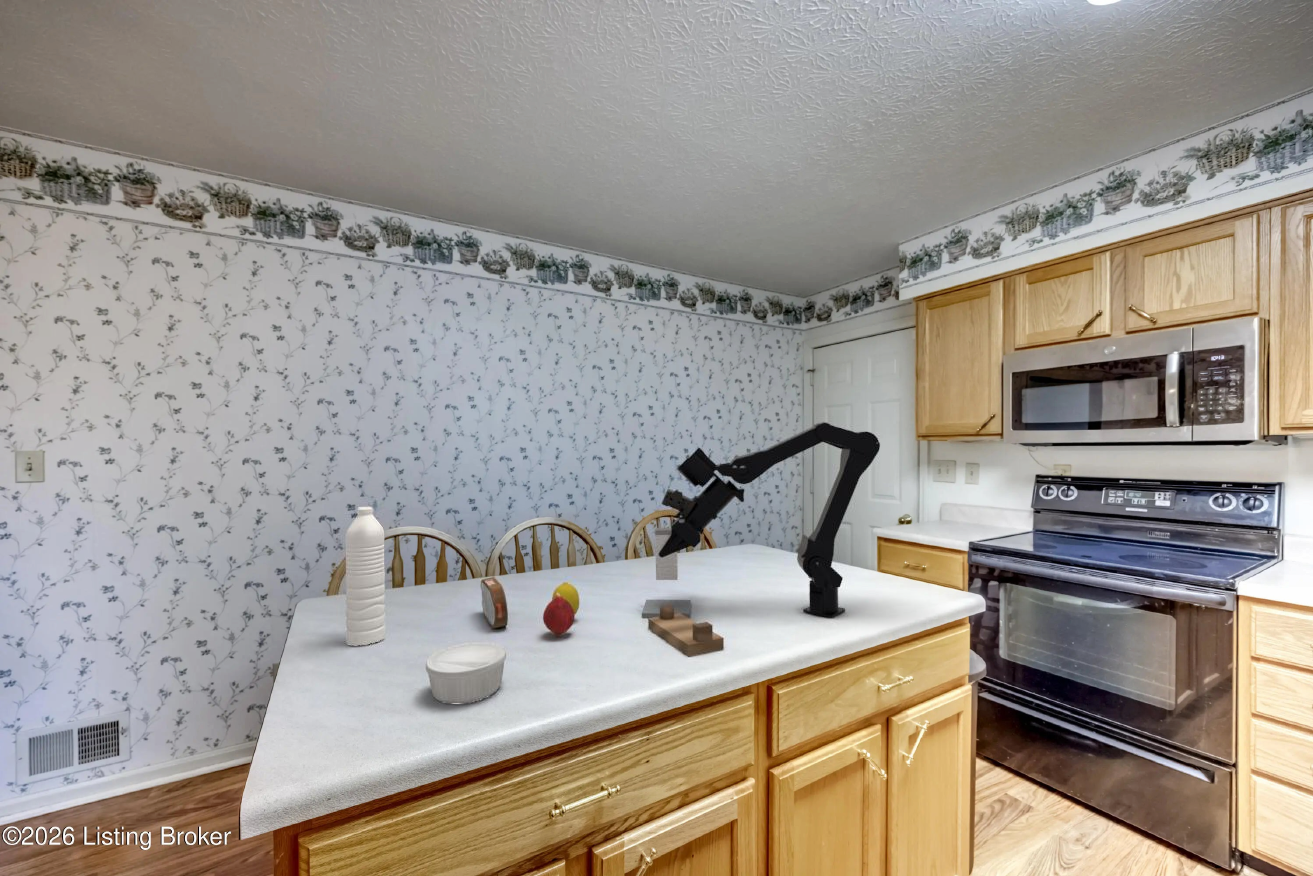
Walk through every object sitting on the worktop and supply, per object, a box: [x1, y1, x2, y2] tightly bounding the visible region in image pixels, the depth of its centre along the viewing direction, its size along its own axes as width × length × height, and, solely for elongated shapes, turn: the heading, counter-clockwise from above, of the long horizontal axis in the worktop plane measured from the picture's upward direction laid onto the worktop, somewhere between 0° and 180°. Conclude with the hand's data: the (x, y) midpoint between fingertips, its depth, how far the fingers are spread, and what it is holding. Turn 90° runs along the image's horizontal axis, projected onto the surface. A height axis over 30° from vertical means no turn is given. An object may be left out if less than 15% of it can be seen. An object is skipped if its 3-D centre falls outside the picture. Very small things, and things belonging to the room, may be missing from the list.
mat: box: [641, 599, 692, 619], centre depth 119 cm, size 10×10×1 cm
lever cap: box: [654, 527, 679, 581], centre depth 119 cm, size 4×3×10 cm
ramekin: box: [425, 641, 507, 704], centre depth 82 cm, size 11×11×5 cm
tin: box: [480, 576, 509, 629], centre depth 114 cm, size 15×3×8 cm, turn 27°
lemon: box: [551, 581, 580, 615], centre depth 113 cm, size 6×6×8 cm
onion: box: [542, 593, 576, 637], centre depth 105 cm, size 6×6×8 cm
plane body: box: [647, 605, 725, 657], centre depth 102 cm, size 16×7×4 cm, turn 26°
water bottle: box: [344, 506, 386, 646], centre depth 103 cm, size 9×6×25 cm
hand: (660, 554), depth 119 cm, fingers closed on lever cap, 3 cm apart
